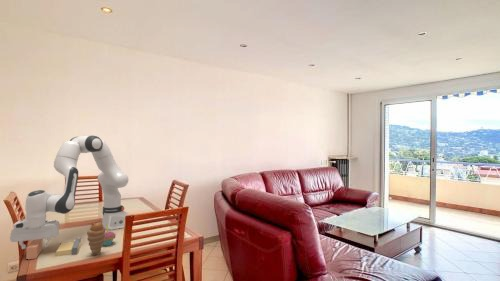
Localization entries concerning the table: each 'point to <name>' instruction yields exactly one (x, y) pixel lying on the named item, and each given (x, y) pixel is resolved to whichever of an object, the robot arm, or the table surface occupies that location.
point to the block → (34, 249)
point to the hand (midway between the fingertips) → (35, 247)
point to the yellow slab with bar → (69, 248)
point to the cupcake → (108, 237)
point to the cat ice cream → (96, 237)
